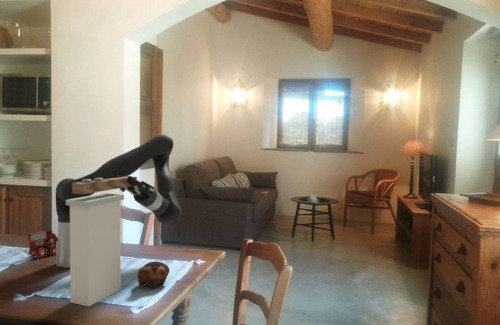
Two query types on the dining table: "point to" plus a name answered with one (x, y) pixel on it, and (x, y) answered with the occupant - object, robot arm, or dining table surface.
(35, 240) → the toy fire truck
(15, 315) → the dining table surface
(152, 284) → the decorative turtle
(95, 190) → the beam
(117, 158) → the robot arm
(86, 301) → the pillar
